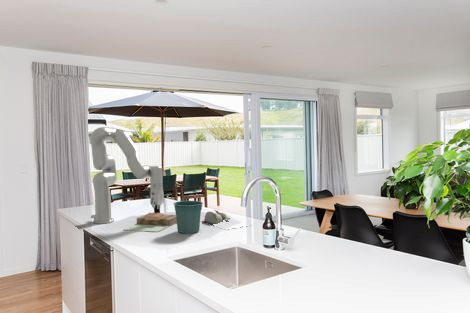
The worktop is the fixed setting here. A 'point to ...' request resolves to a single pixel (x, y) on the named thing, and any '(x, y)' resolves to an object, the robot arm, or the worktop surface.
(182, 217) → the flower pot
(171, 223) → the board
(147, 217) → the terracotta tile
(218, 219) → the grey lumpy piece
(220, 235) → the worktop surface
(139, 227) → the sage mat
